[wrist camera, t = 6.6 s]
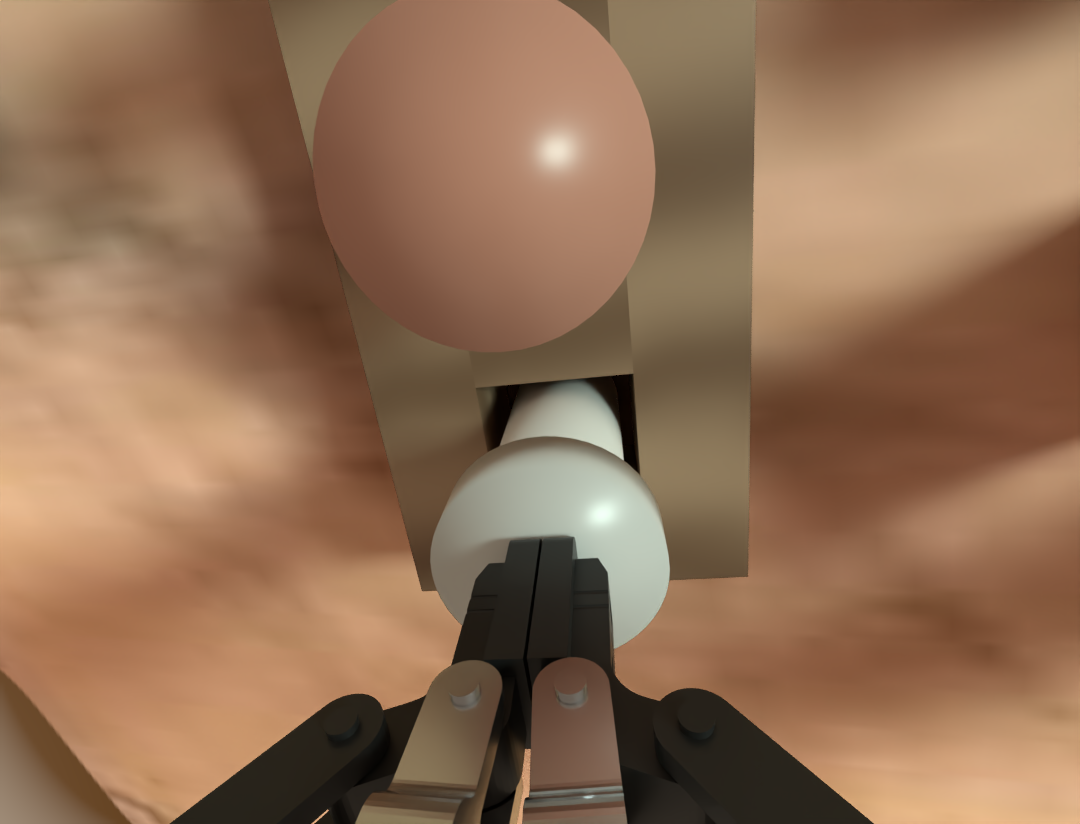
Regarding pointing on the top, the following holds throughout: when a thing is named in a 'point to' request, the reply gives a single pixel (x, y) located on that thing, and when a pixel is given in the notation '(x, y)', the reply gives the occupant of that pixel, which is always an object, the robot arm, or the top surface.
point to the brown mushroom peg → (484, 169)
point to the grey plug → (558, 501)
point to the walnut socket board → (631, 312)
